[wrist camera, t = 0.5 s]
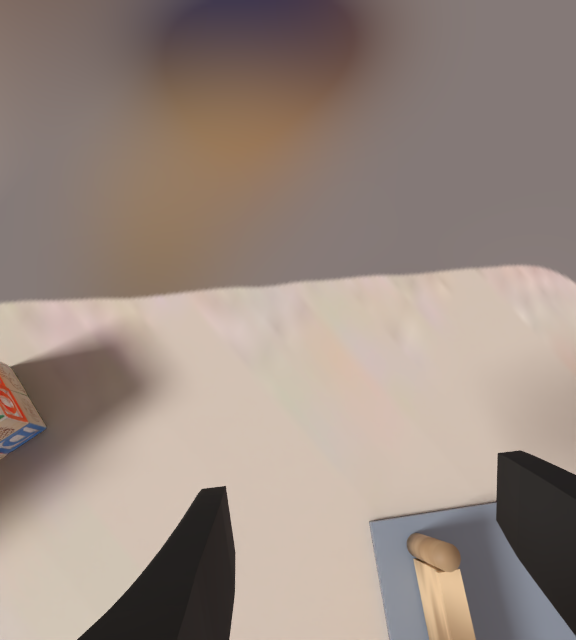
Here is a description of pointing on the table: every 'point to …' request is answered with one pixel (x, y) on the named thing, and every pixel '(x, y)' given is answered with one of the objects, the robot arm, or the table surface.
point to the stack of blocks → (16, 413)
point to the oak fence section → (441, 588)
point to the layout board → (464, 577)
